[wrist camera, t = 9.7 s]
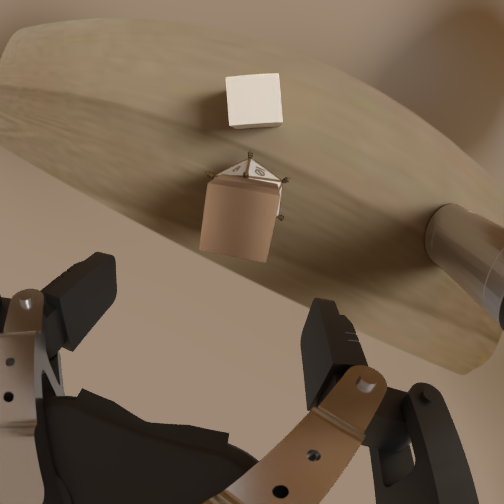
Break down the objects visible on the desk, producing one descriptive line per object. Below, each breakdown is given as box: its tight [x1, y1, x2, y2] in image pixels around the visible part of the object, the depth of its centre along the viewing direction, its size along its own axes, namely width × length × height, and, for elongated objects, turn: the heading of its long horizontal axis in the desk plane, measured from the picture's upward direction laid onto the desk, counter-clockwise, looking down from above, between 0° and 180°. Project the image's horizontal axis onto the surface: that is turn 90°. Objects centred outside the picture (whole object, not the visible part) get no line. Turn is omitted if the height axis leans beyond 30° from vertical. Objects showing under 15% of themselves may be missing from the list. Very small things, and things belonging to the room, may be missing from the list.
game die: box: [206, 150, 291, 221], centre depth 29 cm, size 9×8×10 cm
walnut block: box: [199, 174, 280, 263], centre depth 22 cm, size 5×5×6 cm
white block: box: [226, 73, 283, 129], centre depth 26 cm, size 5×5×6 cm
